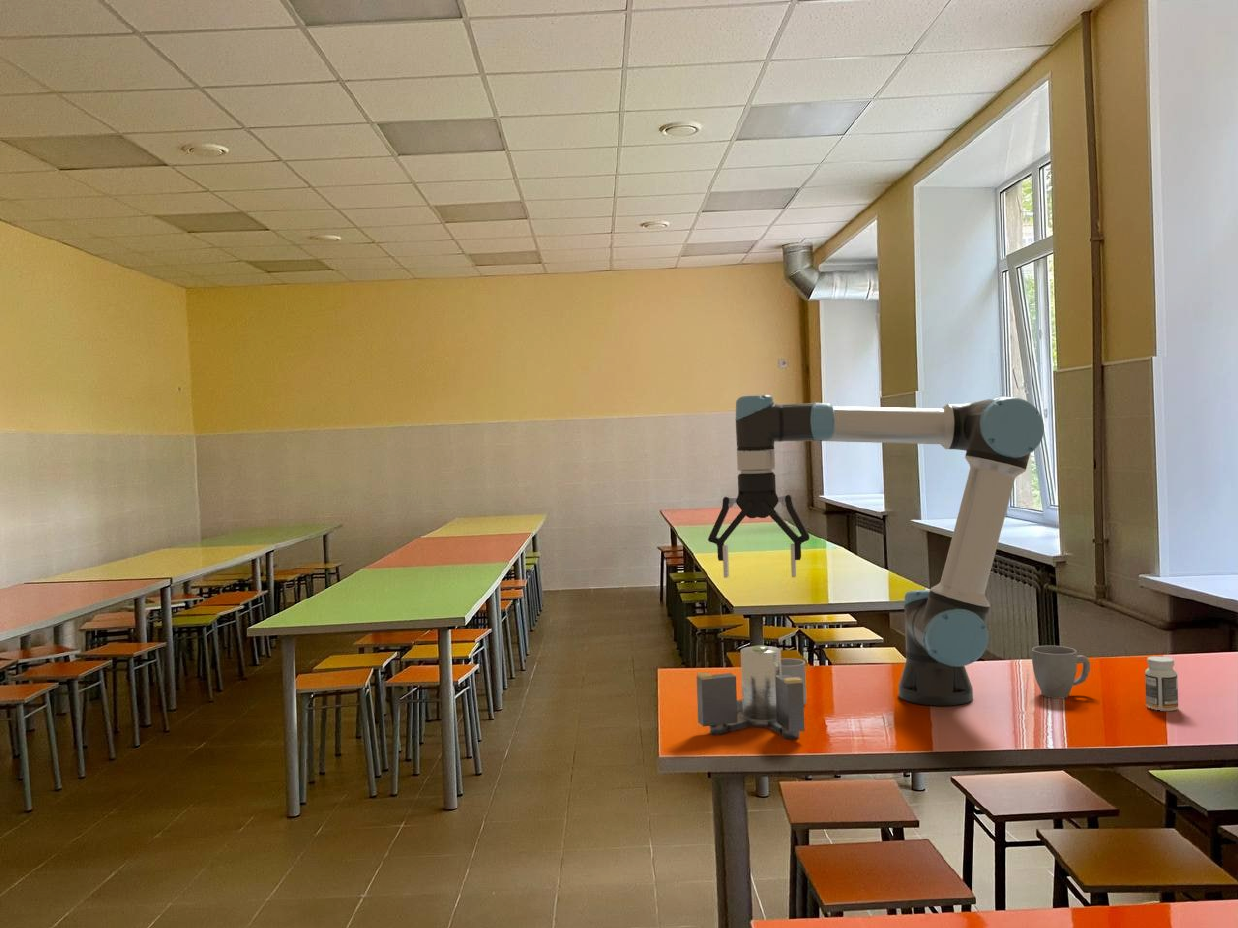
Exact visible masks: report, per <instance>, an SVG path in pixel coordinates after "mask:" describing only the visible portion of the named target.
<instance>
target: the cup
mask: <svg viewBox="0 0 1238 928" xmlns="http://www.w3.org/2000/svg"><path fill="white" fill-rule="evenodd" d="M781 673H782V675H792V676H793V677H799V678H801V679H802V680H803V702H804V706H806V704H807V685H806V683H807V681H806V661H804V660H803V659H800V658H799V659H798V658H781Z"/></svg>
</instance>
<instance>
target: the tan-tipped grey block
mask: <svg viewBox="0 0 1238 928" xmlns="http://www.w3.org/2000/svg"><path fill="white" fill-rule="evenodd" d="M737 691H738V690H737V676H736V675H734V674H733V673H731V672H727V673H716V674H710V673H708V672H697V673H696V697H697V701H696V702H697V722H698V724H700V725H701V726H702V727H703V728H704V727H709V734H710V735H712V736H723V735H726V734H727V732H728V731H727V730H726V724H731V723H738V714H737V700H738V697H737V695H738V693H737Z"/></svg>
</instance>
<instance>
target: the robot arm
mask: <svg viewBox="0 0 1238 928" xmlns="http://www.w3.org/2000/svg"><path fill="white" fill-rule="evenodd" d="M774 403H775V402H774V399H773V397H772V395H769V394H762V395H761V394H758V395H743V396H740V397H738V398H737V400H736V401H735V430H736V431H735V433H736V436H735V437H736V459H737V460H736V462H737V463H736V464H737V471H739V472H740V473H738V475H737V491H738V493H737V497H732V496H731V497H730V496H729V495H726V496H724V497H723V499H722V507H721V510H720V512H719V514H718V516H717V518H716V520H715V523H714V525H713V527H712V529H711V531H710V534H709V535H708V538H707V540H708V542H709V543H713V544H715V545H716V546H717V561H718V562H720V561H721V562H722V565H723V567H722V568H723V571H722V572H723V578H725V579H726V578H727V579H728V578H729V576H730V570H729V569H730V565H729V564H730V563H729V544H728V543H725V542H726V541H727V540H728V539H729V537H730V536H731V535H732V534H733V532H734V531H735V530H736V528H737V527H738V526H739V525H740V524H741V522H743V519H744V518H749V519H755V518H760V519H766V518H768V517H770V518H771V520H773V521H774V522H775V523H776V524H777V525H778V527H780V528H781V530H782V531H783V532H784V534H786V535H787V536H788V538H790V540H791V541H792V542H793V543H790V565H791V566H790V567H791V568H790V569H791V578H797V562H796V561H801V559H802V543H804V542H807V541H809V540H810V534H809V532H808V530H807V529H806V526H805V525H804V522H803V521H802V519H801V517H800V515H799V514H798V512H797V510H796V508H795V507H794V503H793V497H792V495H791V494H787V495H783V496H778V495H777V492H776V491H777V490H776V487H777V486H776V485H777V484H776V473H775V472H773V471H774V470H775V469H776V462H775V461H776V460H775V459H776V458H775V443H776V442H778V443H780V442H781V443H782V442H841V443H843V442H845V443H846V442H847V443H873V444H874V443H875V444H876V443H877V444H879V443H881V444H885V443H886V444H918V445H920V444H922V445H940V446H942V448H943V449H945V450H957V451H958V450H960V451H965V455H964V458H965V461H967V463H968V464H969V467H970V468H969V471H968V476H967V480H966V483H965V487H964V490H963V495H962V498H961V502H960V506H959V510H958V514H957V516H956V517H957V518H956V521H955V524H954V529H953V533H952V536H951V537H952V538H951V540H950V544H949V548H948V551H947V555H946V559H945V563H944V568H943V571H942V575H941V579H940V582H939V583H938V584H936V585H934V586H932V587H930V589H924V590H923V589H922V590H921V589H920V590H919V589H918V590H909V591H907V592H906V593H905V595H904V603H903V608H904V629H905V630H904V631H905V633H904V634H905V663H904V666H903V669H902V673H901V677H900V679H899V680H900V681H899V683H898V697H900V699H902V700H904V701H905V702H909V703H913V704H919V705H926V706H937V707H938V706H941V707H943V706H944V707H945V706H946V707H947V706H958V705H964V704H967V703H969V702H972V700H974V689H973V685H972V683H971V680H970V677H969V675H968V674H969V673H968V671H967V669H966V666H968V665H971V664H973V663H975V662H976V661H978V660H979V659H980V658H981V657H982V656H983V654H984V653H985V652H986V649H987V647H988V644H989V630H988V628H987V624H986V622H987V618H988V615H989V611H990V607H991V604H990V602H989V601H988V599H987V598H986V594H985V593H986V590H987V586H988V582H989V580H990V579H989V578H990V575H991V570H992V567H993V564H994V560H995V556H996V552H997V548H998V545H999V540H1000V537H1001V534H1002V530H1003V526H1004V522H1005V519H1006V514H1007V510H1008V507H1009V503H1010V499H1011V496H1012V491H1013V489H1014V484H1015V481H1016V478H1017V477H1019V476H1020V475H1022V474H1023V473H1025V472H1026V471H1027V468H1028V463H1029V459H1030V456H1031V453H1033V452H1034V451H1035V450H1036V449H1037V448H1038V447H1039V445H1040V444H1041V442H1042V440H1043V437H1044V433H1045V432H1044V431H1045V424H1044V420H1043V417H1042V414H1041V413H1040V411H1039V410H1038V408H1037V407H1035V405H1034V404H1032V403H1031V402H1029V401H1027V400H1025V399H1024V398H1022V397H1021V398H1020V397H1016V396H1008V395H1005V396H1000V397H996V398H991V399H990V398H989V399H983V400H979V401H973V402H968V403H946V404H945V405H944V406H943V407H942V408H935V407H934V408H931V407H930V408H929V407H927V408H925V407H924V408H923V407H921V408H920V407H881V406H880V407H877V406H876V407H875V406H874V407H872V406H833V405H832V404H830V403H828V402H810V403H809V402H806V403H805V402H804V403H793V404H792V403H791V404H790V403H789V404H777V403H776V404H774ZM779 503H780V504H781V506H783V507H785V508H786V509H787V512H788V514H789V515H790V517H791V520H792V521H793V523H794V524H795V527H796V528H797V530H798V532H799V533H800V534H799V535H800V536H798V534H797V533H796V532H795V531H794V530H793V529H792V528H791V527H790V525H788V523H787V522H786V521H785V520H784V519H783V518H782V517H781V516H780V514H779V513H778V511H776V510H775V508H776V507H777V505H778V504H779ZM735 504H736V505H737V506H738V507H739V509H740V512H739V513H738V515H736V517H735V518H734V519H733V520H732V522H731V523H730V525H729V526H728V527H726V530H724V531H723V533H722V535H721V536H720V537H718V535H719V532H720V529H721V528H722V525H723V523H724V521H725V519H726V518H727V514H728V513H729V510H730V509H731V508H733V506H734V505H735Z"/></svg>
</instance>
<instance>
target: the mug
mask: <svg viewBox="0 0 1238 928" xmlns="http://www.w3.org/2000/svg"><path fill="white" fill-rule="evenodd" d="M1031 662H1032V669H1033V674H1034V678H1035V681H1036V684H1037V686H1038V687H1039V690H1040V693H1041V696H1042V697H1043V696H1044V697H1046V698H1050V699H1051V698H1052V699H1066V698H1068V697H1070V694H1071V691H1072V688H1073V687H1074V686H1078V685H1081V684H1083V683H1084V682H1086V681H1087V678H1088V677H1089V674H1090V671H1091V663H1090V660H1089V658H1088V657H1087V656H1085V655H1082V654H1079V655H1078V652H1077V650H1076V649H1075V648H1072V647H1068V646H1063V645H1062V646H1061V645H1037V646H1034V647H1032V648H1031ZM1078 664H1082V670H1081V673H1080V675H1079V676H1078V677H1077V679H1076V675H1077V670H1078Z"/></svg>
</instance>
